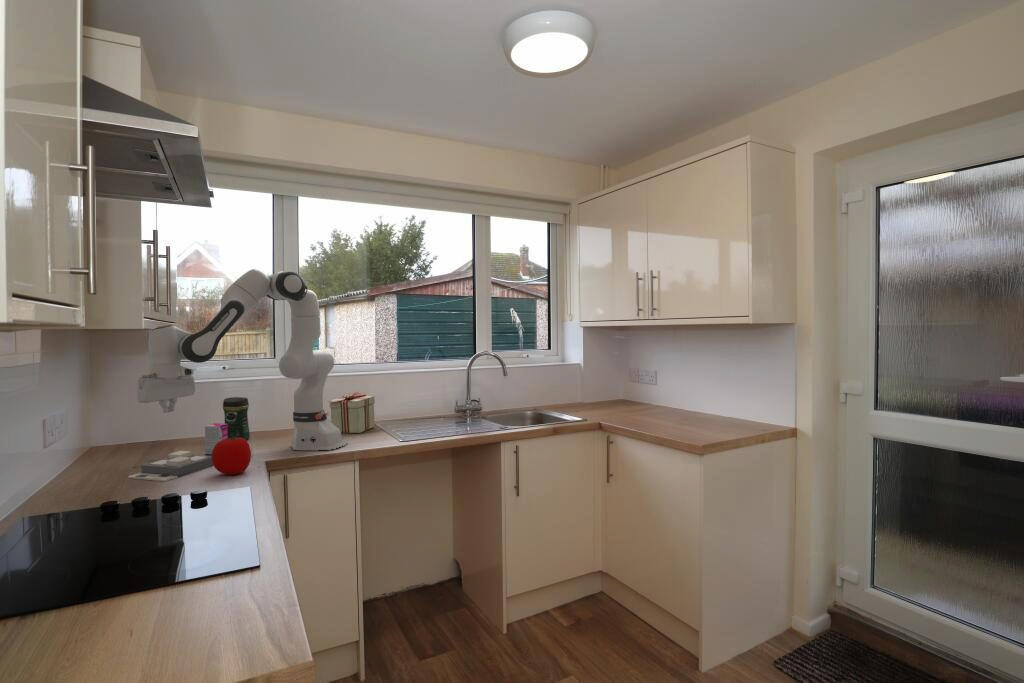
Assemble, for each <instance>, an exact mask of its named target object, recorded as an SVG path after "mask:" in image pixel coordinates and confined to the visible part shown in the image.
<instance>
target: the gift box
mask: <svg viewBox="0 0 1024 683" xmlns="http://www.w3.org/2000/svg"><path fill="white" fill-rule="evenodd" d="M327 402H328V403H329V408H330V422H331V423H332V424H333V425H335V426H336V427H337V428H339V429H340V431H341V434H361V433H364V432H366V431H368V430H370V429H373V428H375V396H374V395H373V396H371V395H369V396H368V395H367V394H364V393H361V392H360V391H356V392H354V393H353V394H351V393H350V394H344V395H342V396H341V397H339V398H336V399H335V398H334V399H331V400H329V401H327Z"/></svg>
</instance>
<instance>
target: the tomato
mask: <svg viewBox="0 0 1024 683" xmlns="http://www.w3.org/2000/svg"><path fill="white" fill-rule="evenodd" d="M243 438H244V437H240V438H238V437H234V436H232V438H227V439H224V440H221V441H219V442H218V443H217V444H216V445H215V446H214V449H213V451H212V463H213V467H214V468H215V470H216V471H218V472H219V473H221V474H223V475H227V476H229V475H230V476H231V475H233V476H234V475H239V474H242V473H243V472H245V471H246V470H247V469H248V468H249V466H250V462H251V458H252V451H251V447H250V444H249V442H248V440H245V439H243Z"/></svg>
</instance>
